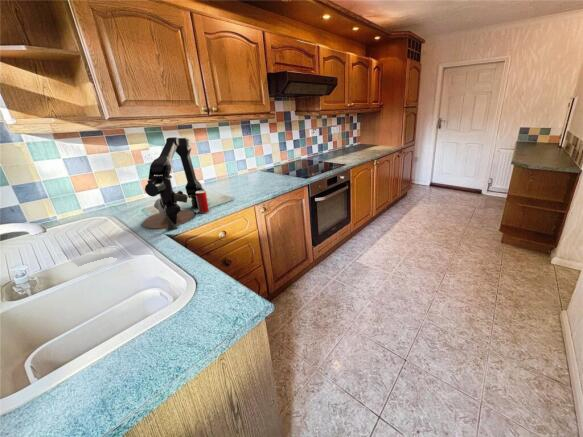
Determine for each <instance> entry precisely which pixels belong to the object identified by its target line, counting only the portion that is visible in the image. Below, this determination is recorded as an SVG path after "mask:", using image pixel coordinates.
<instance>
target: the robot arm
mask: <svg viewBox="0 0 583 437" xmlns="http://www.w3.org/2000/svg"><path fill="white" fill-rule="evenodd" d="M191 151H192V142H191V140H190V139H189V138H188V137H176V136H175V137H167V138H166V139H165V144H164V146H163V148H162V150H161V152H160V154H159V156H158V157H157V158H155V159H154V160H153V161H151V163H150V166H149V172H148V180H147V181H146V182H147V183H146V184H145V186H144V192H145V193H146V195H148V196H149V197H152V198H153V197H156V196H158V195H159V197H160V200H159V202H160V205H161V207H162V208H163V209H164V211H165V213H166V215H167V216H168V217H169V219H170V220H171V221H172V222H173V224H174V225H175V224H177V214H178V212H180V211H181V210H182V209H181V205H179V204H178V202H179V203H188V199H191V201H190V202H191V208H192V209H196V210H198V205H197V200H196V192H197V191H201V190H204V191H205V192H206V190H205V189H204V188H203V187H202V183H201V182H199V180H197V177H196V173H195V169H194V165H193V161H192V158H191V155H190V154H191ZM175 154H177V155H178V156H179V158H180V161H181V165H182V168H183V171H184V174H185V179H186V184H185V186H184V189H185V192H186V193H184V191H182V190H177V192H175V191H174V189H173V184H172V181H171V179H172V178H173V176H172V175H171V171H172V168H173V167H172V164H171V162H172V160H173V157H174V155H175ZM176 203H177V204H176ZM162 204H163V205H162Z"/></svg>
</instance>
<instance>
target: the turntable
mask: <svg viewBox="0 0 583 437" xmlns="http://www.w3.org/2000/svg"><path fill="white" fill-rule="evenodd" d="M162 216H163V217H162ZM164 217H165V216H164V215H161V213H160V212H158V213H156V214H153V215H151V216H149V217H147V218H146V219H144V220H143V222H142V225H143V227H144V228H146V229H151V230H162V229H167V231H168V232H170V231H173V230H177V229H178V227H177V226H180V225H183V224H186V223H188V222H189V221H191V220H193V219H194V217H195V213H194V211H192V210H189V209H181V211H180V212H178V214H177V224H175V225H174V224H173V222H172V221H171V220H170V219H169V217H168V216H167V215H166V217H165V218H164Z"/></svg>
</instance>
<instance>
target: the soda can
mask: <svg viewBox="0 0 583 437" xmlns="http://www.w3.org/2000/svg"><path fill="white" fill-rule="evenodd" d="M204 190H205V189H204ZM204 190H201V191H197V192H196V200H197V205H198V209H197V210H198V213H199V214H207V213H209V212H210V206H209V202H208V197H207V192H206V190H205V191H204Z"/></svg>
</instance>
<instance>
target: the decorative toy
mask: <svg viewBox="0 0 583 437" xmlns="http://www.w3.org/2000/svg"><path fill="white" fill-rule="evenodd" d="M160 198H161V197H160ZM160 198H157V199H156V201H155V202H154V203H153V207H154V208H155V209H157V210H158V213H161V215H164V216H165V217H166V213H165V211H164V209H163V208H162V207H161V205H160V202H159V200H160ZM176 204H178V202H177V203H176ZM162 205H163V204H162ZM162 217H163V216H162ZM165 217H164V218H165Z"/></svg>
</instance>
